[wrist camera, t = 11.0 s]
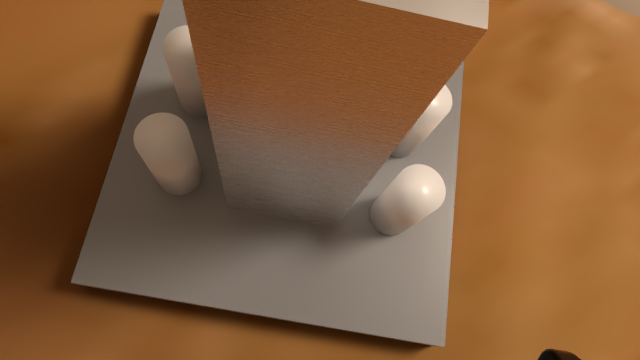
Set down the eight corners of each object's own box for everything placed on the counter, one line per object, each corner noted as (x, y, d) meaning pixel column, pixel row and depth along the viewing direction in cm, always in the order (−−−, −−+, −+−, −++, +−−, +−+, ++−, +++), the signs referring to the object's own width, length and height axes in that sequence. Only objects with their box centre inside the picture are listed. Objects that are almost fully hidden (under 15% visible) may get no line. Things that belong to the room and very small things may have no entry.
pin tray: (432, 345, 18) (492, 351, 13) (83, 285, 17) (20, 269, 12) (452, 74, 21) (504, 7, 17) (171, 12, 20) (148, -76, 16)
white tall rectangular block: (334, 227, 17) (487, 29, 6) (227, 207, 17) (172, -42, 6) (352, 108, 19) (499, -226, 8) (255, 88, 19) (255, -292, 7)
